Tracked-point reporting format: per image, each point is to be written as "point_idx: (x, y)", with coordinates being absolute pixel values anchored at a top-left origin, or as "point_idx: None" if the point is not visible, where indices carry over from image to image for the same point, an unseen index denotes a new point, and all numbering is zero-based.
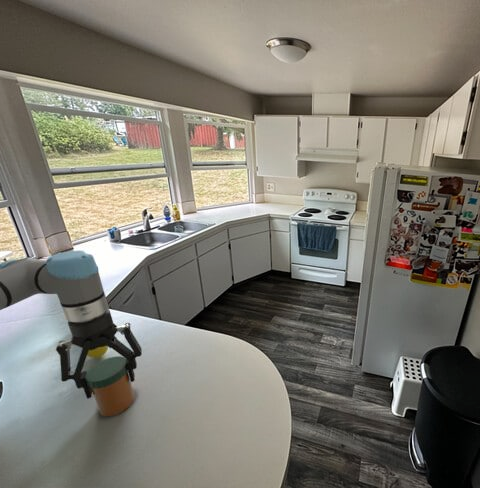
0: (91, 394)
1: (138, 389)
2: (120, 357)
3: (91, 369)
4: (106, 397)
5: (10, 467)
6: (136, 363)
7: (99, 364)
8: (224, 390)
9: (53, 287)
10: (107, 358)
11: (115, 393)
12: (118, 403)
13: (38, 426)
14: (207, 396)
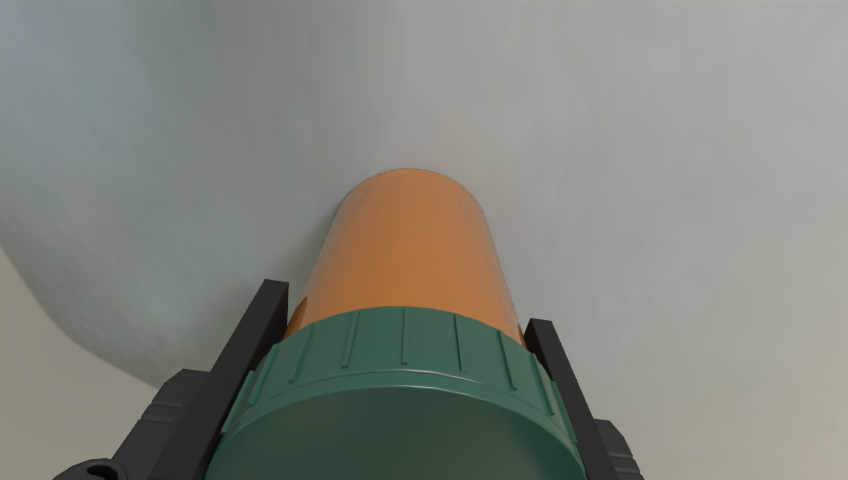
0: (285, 328)
1: (515, 220)
2: (558, 461)
3: (251, 465)
4: None
5: (42, 289)
6: (622, 451)
7: (332, 440)
8: (749, 453)
9: None
10: (428, 394)
11: None
12: None
13: (47, 123)
14: (692, 439)
